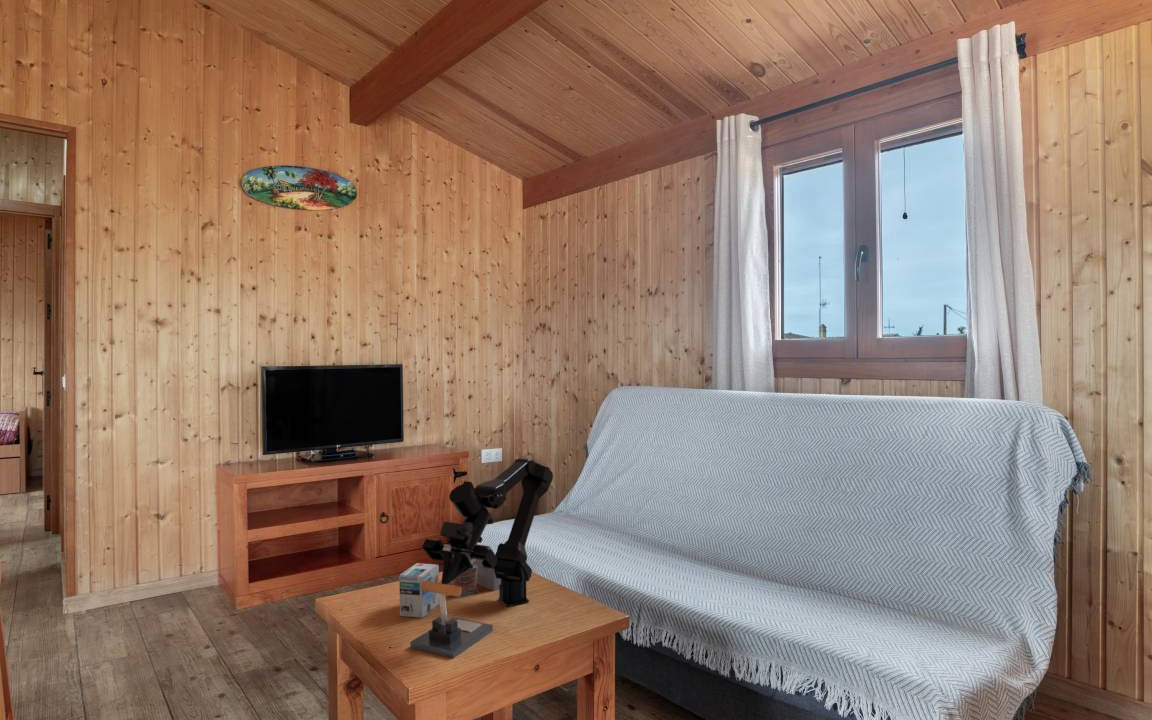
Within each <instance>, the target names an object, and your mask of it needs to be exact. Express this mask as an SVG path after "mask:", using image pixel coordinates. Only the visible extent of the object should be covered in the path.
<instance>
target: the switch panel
mask: <svg viewBox="0 0 1152 720" xmlns="http://www.w3.org/2000/svg"><path fill="white" fill-rule="evenodd" d="M447 620H448V622H447V623H446V625H445V626H444V625H442V622H441V616H440V617H439V616H438V617H437V618H435V619H433V620H431V621H432V622H431V626H432V627H431V628H430V629H429V630H428V631H426V632H425V633H423V634H421V635H420V636H418V637H416V638H414V639H413V640H411V641H410V647H409V648H410V649H412V650H416V651H420V652H425V653H428V654H429V653H430V654H433V655H437V656H442V657H447V658H451V659H454V658H456V657H457V656H459V655H460V654H462V653H464V652H465V651H466V650H467V649H470V647H472V646H473V645H475V644H476V643H477V642H479V641H481V640H482V639H483V638H485V637H486V636H488V635H489V634H491V633H492V632H493V631H494V630H493V629H494V628H493V627H494V625H493V624H489V623H486V622H485V623H484V622H480V621H475V620H469V619H464V618H460V617H456V616H451V617H450V618H447Z"/></svg>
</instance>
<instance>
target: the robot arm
mask: <svg viewBox="0 0 1152 720" xmlns="http://www.w3.org/2000/svg"><path fill="white" fill-rule="evenodd" d="M553 480H554V474H553V471H552V470H551V469H550V467H548V466H545V465H542V464H539V463H537V462H535V460H532V459H530V458H519V457H518V458H516V459H515V460H514V463H512V464H510V466H509V467H508V468H507V469H505V470H504V471H503V472H502V473H500V474H499V475H498V476H496V477H495V478H494V479H491V480H488V481H487V480H485V481H484V482H482V483H480V484H477V485H476V486H475V487H474V484H473V482H472V481H468V480H467V481H466V480H464V482H463V483H462V484H459V485H458V486H455V487H454V488H453V489H452V490H451V491H450V493H449V496H448V497H449V500H450V502H451V504H452V505H453V506H454V508H455V509H456V511H457V512H458V514H459V515H460V516H461V517H463V520H462V522H461V523H457V522H450V521H443V522H442V525H441V529H440V532H439V536H441V537H445V538H446V540H445V541H446V542H447V543H448V544H444V543H443V541H442V540H441V539H440V538H433V537H432V538H431V537H428V538H425V540H424V541H423V542H422V545H421V548H422V549H423V551H424V552H425V553H426V554H427V556H428V558H429V559H431V560H433V561H439V562H442V561H443V567H442V576H441V581H440V583H442V584H448V585H450V582H451V581H453V580H454V579H455V578H456V577H458V576H459V575H460V574H462V573H463V572H465V571H466V570H468V569H472V568H473V565H472V564H473V562H474V560H476V559H480V560H483V561H482V565H483V567H484V568H490V569H494V571H495V575H496V578H497V579H498V578H499V579H501V584H500V585H499V590H498V591H499V596H498V600H499V601H500V602H501V603H503V604H504V605H505V606H506V607H511V606H515V605H520V604H524V603H525V604H526V603H529V602H530V599H529V598H528V597H527V582H529V581H530V580H531V578H532V573H533V570H532V568H531V566H530V565H529V564H528V563H527V560H528V554H527V550H526V547H525V546H526V542H527V539H528V537H529V534H530V530H531V527H532V524H533V521H534V517H535V515H536V511H537V508H538V505H539V502H540V499H541V498H542V496H544V495H545V494H546V493H547V492H548V491H549V489H550V486H551V483H553ZM520 482H521V483H520ZM519 483H520V484H521V488H522V491H523V492H522V496H521V498H520V502H519V504H518V508H517V510H516V514H515V517H514V520H513V524H512V526H511V530H510V533H509V535H508V538H507V540H506V541H505V542H504V543H501V542H500V543H499V544H498V545H497V549H496V552H494V551H493V550H492V548H491V546H489V545H485V544H484V545H483V544H481V543H482V541H483V537H482V535H483V532H484V531H485V529H486V526H487V525H489V524H491V525H493V523H494V518H493V516H492V512H490V511H489V510H488V509H493V510H498V509H500V508H501V507H502V506H503V504H504V503H505V502H506V500H507V494H508V493H509V492H510V491H511V490H512V489H513V488H514V487H515V486H516V485H518V484H519ZM479 543H480V544H479Z"/></svg>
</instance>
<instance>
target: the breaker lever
mask: <svg viewBox="0 0 1152 720" xmlns="http://www.w3.org/2000/svg"><path fill="white" fill-rule="evenodd" d="M421 589H422V590H424V591H429V592H435V593H439V609H440V617H441V622H442V625H444V626H445V625H446V623H447V622H448V613H447V602H446V600H447V599H446V596H447V595H448V596H449V595H452V596H457V597H456V598H460V597H459V596H460V595H461V593H462V588H461V587H460V586H454V585H450V584H442V583H441V582H439V583H437V582H431V581H423V582H422V584H421Z"/></svg>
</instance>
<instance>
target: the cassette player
mask: <svg viewBox="0 0 1152 720" xmlns="http://www.w3.org/2000/svg"><path fill="white" fill-rule="evenodd" d="M482 561H483V560H480V559H476V560H475V563H473V564H472V565H477V566H478V569H477V585H480V586H481V587H482V586H483V587H484V588H486V589H489V590H492V591H493V592H494V591H499V585H500V584H501V579H499V578H498V579H497V578H496V575H495V571H494V569H490V568H484V567H483V565H482Z"/></svg>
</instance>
